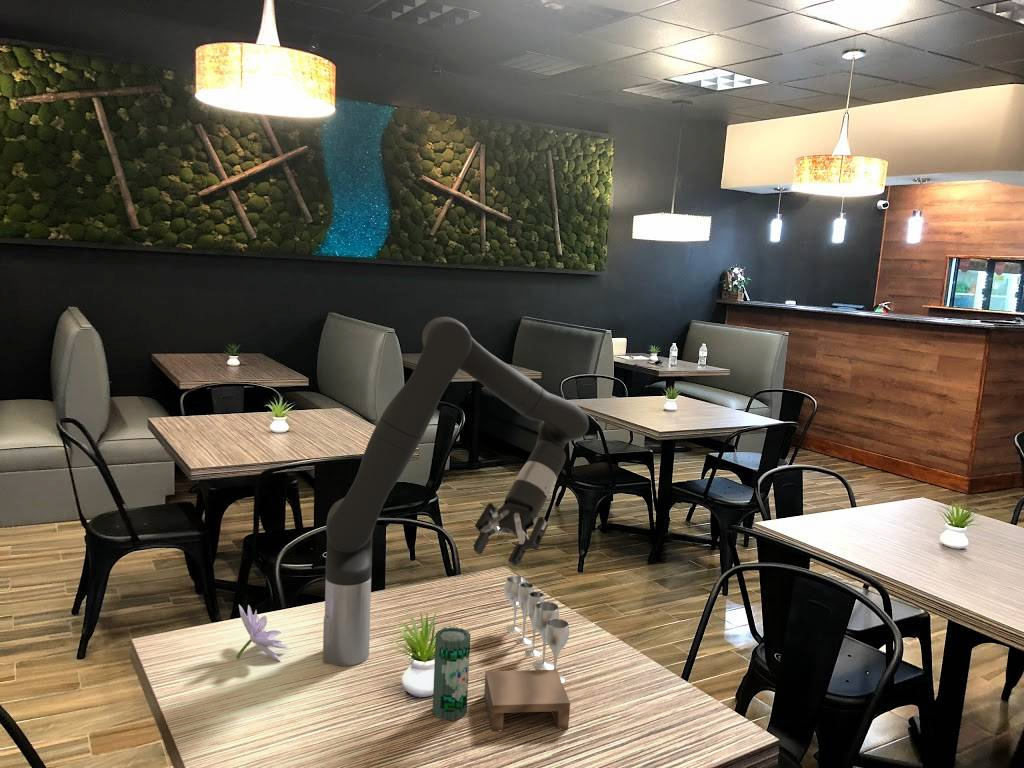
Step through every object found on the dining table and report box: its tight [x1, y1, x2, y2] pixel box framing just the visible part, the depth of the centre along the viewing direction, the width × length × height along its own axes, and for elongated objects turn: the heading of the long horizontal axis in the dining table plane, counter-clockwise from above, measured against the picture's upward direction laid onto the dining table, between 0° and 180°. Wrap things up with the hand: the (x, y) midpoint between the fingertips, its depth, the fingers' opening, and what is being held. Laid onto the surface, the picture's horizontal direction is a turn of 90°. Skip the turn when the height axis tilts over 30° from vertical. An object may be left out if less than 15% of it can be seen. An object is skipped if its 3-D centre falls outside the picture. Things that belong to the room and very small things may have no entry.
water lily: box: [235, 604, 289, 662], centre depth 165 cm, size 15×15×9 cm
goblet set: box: [503, 575, 570, 684], centre depth 172 cm, size 28×6×13 cm, turn 21°
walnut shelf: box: [483, 669, 571, 732], centre depth 150 cm, size 14×12×5 cm
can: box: [432, 626, 471, 721], centre depth 148 cm, size 6×6×15 cm
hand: (494, 558), depth 155 cm, fingers open, 8 cm apart
